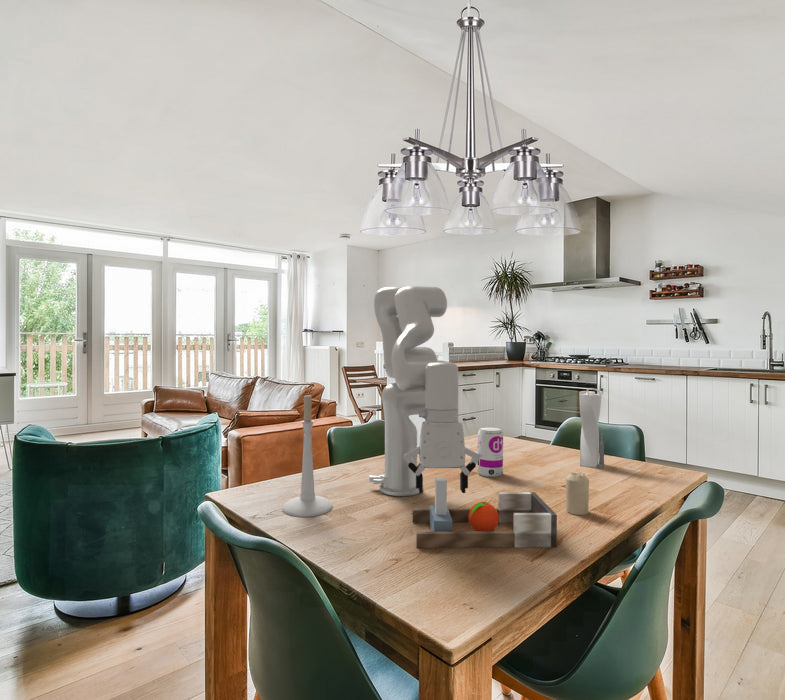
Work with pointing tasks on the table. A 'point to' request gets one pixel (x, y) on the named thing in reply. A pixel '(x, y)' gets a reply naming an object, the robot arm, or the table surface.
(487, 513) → the clementine
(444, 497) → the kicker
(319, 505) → the candlestick
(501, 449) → the supplement can
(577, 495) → the candle
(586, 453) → the skyscraper
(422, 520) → the frame
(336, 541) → the table surface
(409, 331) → the robot arm
